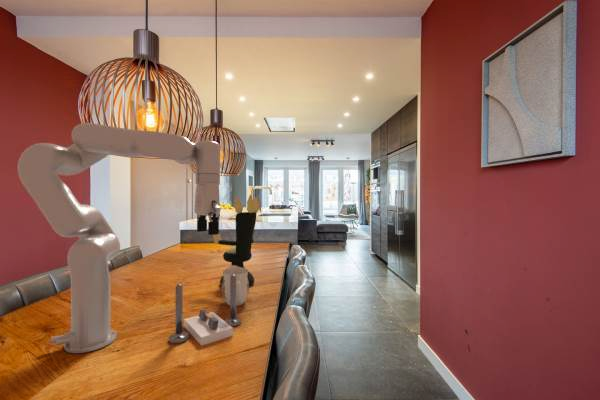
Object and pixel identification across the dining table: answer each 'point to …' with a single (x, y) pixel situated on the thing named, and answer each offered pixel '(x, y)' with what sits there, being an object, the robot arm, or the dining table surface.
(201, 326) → the panel
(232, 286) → the rod right
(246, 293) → the pitcher
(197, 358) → the dining table surface
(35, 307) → the dining table surface
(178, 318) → the rod left
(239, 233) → the flowering cactus
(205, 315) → the square dumbbell
